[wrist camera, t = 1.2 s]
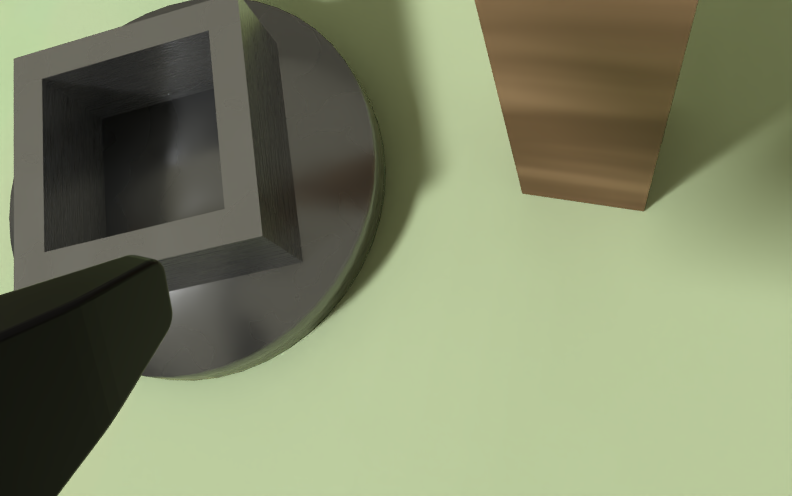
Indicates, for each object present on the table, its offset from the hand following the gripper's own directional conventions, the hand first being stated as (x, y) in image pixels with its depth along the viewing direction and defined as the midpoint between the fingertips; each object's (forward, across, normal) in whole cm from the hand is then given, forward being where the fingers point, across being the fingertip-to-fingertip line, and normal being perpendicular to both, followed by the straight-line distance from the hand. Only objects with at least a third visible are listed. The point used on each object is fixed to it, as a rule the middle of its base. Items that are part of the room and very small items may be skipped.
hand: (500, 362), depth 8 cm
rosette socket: (+13, +13, +6) cm, 19 cm away
